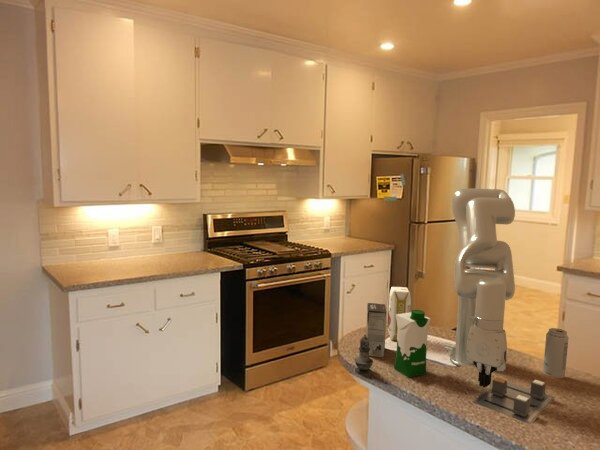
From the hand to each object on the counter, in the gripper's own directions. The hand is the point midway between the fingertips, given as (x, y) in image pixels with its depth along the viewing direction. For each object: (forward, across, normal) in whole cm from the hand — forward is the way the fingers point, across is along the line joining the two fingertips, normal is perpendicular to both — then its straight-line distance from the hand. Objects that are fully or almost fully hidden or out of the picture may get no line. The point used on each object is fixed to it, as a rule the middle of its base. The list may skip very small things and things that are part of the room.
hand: (484, 385), depth 129 cm
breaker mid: (+1, +4, 0) cm, 4 cm away
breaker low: (+1, +12, -6) cm, 14 cm away
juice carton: (+2, -42, +20) cm, 46 cm away
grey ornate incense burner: (+3, -32, -14) cm, 35 cm away
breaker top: (+1, +12, +7) cm, 14 cm away
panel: (+3, +8, 0) cm, 9 cm away
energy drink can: (+3, +10, +27) cm, 29 cm away
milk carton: (+3, -22, -3) cm, 23 cm away
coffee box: (+3, -39, +2) cm, 40 cm away
